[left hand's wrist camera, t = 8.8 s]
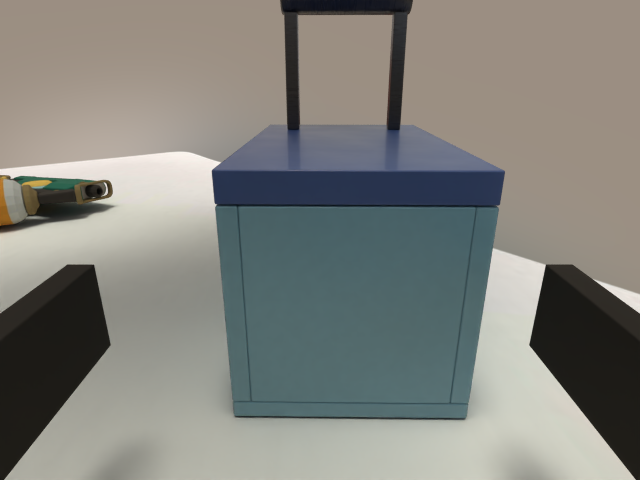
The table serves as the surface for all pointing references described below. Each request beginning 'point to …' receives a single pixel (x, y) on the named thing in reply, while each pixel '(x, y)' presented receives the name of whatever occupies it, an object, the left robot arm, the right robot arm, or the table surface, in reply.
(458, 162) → the lid
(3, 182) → the spray gun
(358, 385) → the chest
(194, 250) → the table surface
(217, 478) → the table surface
